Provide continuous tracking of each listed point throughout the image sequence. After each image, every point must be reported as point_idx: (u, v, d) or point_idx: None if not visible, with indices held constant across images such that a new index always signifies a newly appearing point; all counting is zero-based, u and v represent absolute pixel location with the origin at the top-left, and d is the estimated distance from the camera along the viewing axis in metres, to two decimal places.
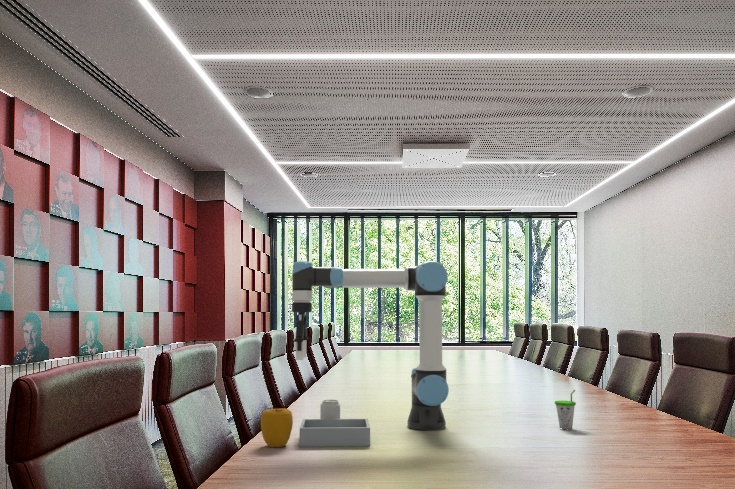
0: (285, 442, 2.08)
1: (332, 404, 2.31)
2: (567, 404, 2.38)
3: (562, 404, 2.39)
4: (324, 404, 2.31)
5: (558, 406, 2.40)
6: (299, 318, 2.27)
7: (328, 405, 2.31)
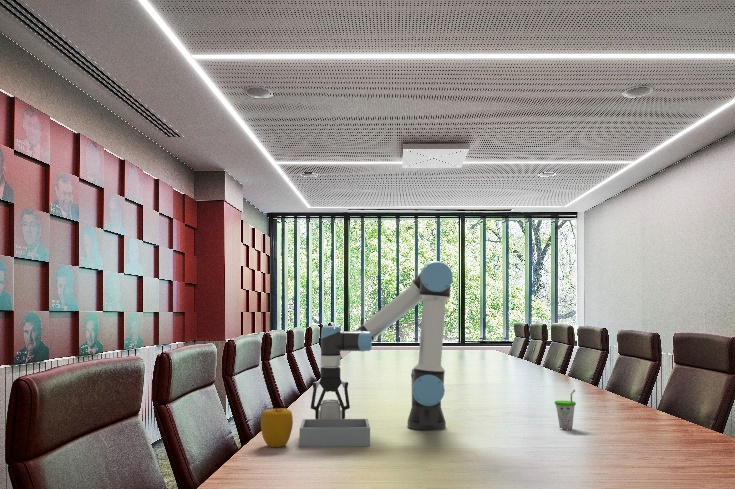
0: (285, 442, 2.08)
1: (332, 404, 2.31)
2: (567, 404, 2.38)
3: (562, 404, 2.39)
4: (324, 404, 2.31)
5: (558, 406, 2.40)
6: None
7: (328, 405, 2.31)
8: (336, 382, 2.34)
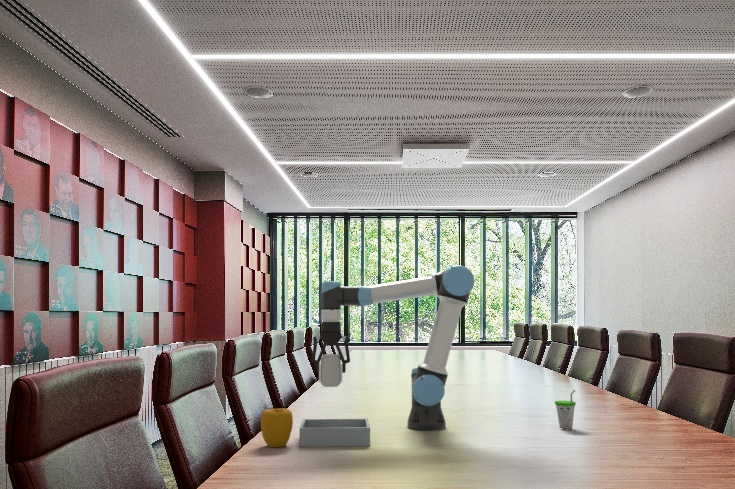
0: (285, 442, 2.08)
1: (332, 357, 2.33)
2: (567, 404, 2.38)
3: (562, 404, 2.39)
4: (325, 357, 2.33)
5: (558, 406, 2.40)
6: None
7: (329, 358, 2.32)
8: (336, 336, 2.36)
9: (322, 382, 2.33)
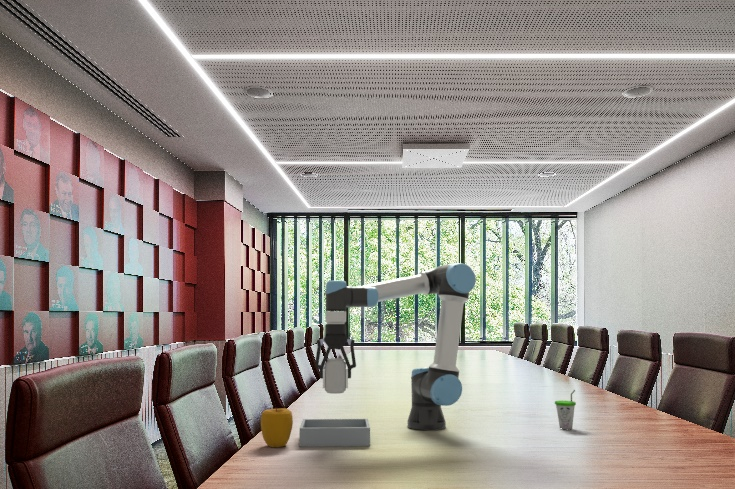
0: (285, 442, 2.08)
1: (337, 362, 2.18)
2: (567, 404, 2.38)
3: (562, 404, 2.39)
4: (329, 362, 2.18)
5: (558, 406, 2.40)
6: None
7: (333, 363, 2.18)
8: (342, 339, 2.21)
9: (326, 388, 2.18)
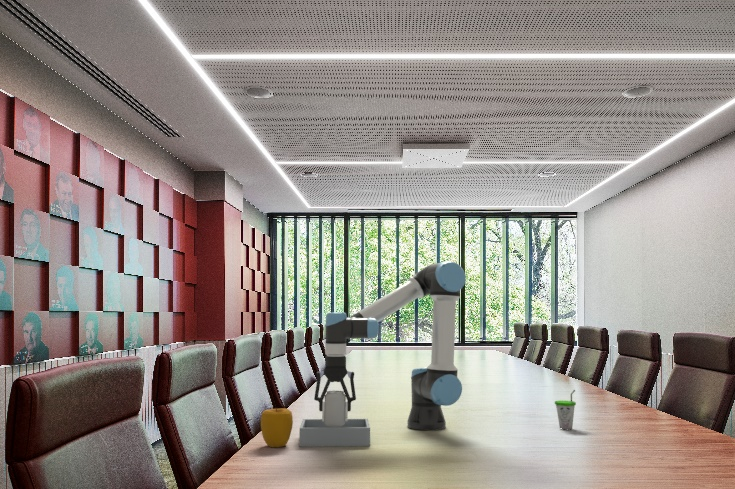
0: (285, 442, 2.08)
1: (337, 395, 2.17)
2: (567, 404, 2.38)
3: (562, 404, 2.39)
4: (329, 395, 2.17)
5: (558, 406, 2.40)
6: None
7: (333, 396, 2.16)
8: (341, 372, 2.20)
9: (326, 421, 2.17)
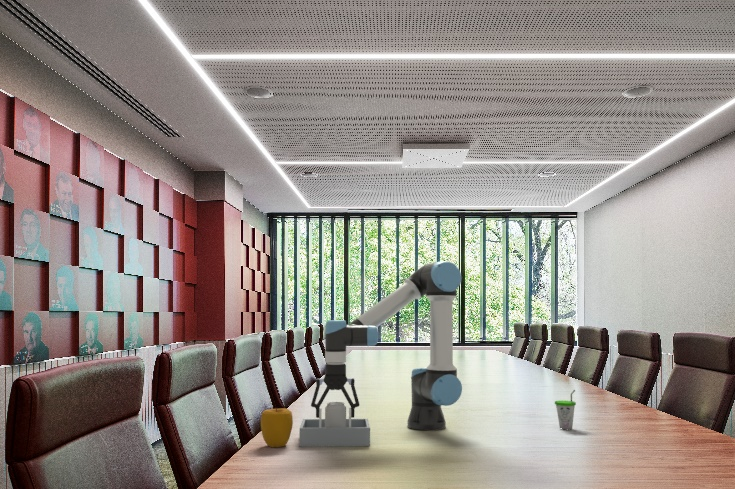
0: (285, 442, 2.08)
1: (338, 407, 2.16)
2: (567, 404, 2.38)
3: (562, 404, 2.39)
4: (329, 407, 2.17)
5: (558, 406, 2.40)
6: None
7: (333, 408, 2.16)
8: (341, 380, 2.19)
9: None
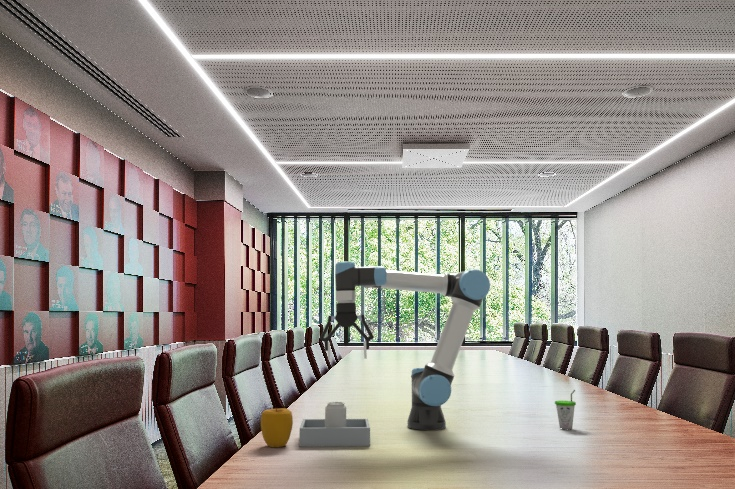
0: (285, 442, 2.08)
1: (338, 407, 2.16)
2: (567, 404, 2.38)
3: (562, 404, 2.39)
4: (329, 407, 2.17)
5: (558, 406, 2.40)
6: (328, 319, 2.32)
7: (333, 408, 2.16)
8: (352, 318, 2.32)
9: None
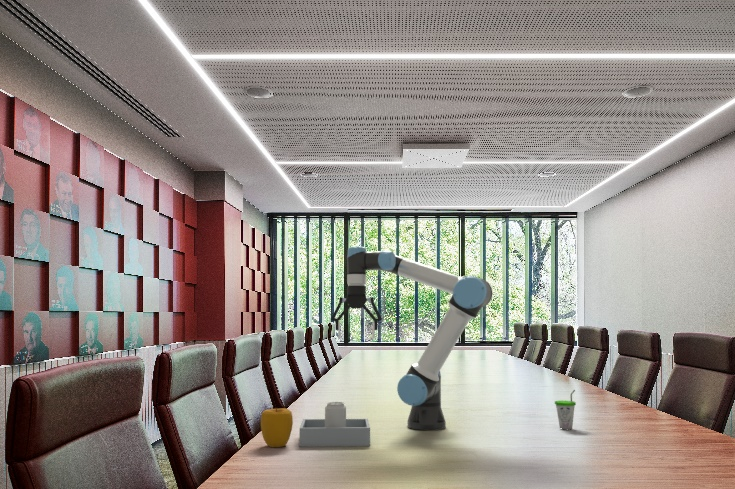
0: (285, 442, 2.08)
1: (337, 407, 2.16)
2: (567, 404, 2.38)
3: (562, 404, 2.39)
4: (329, 407, 2.17)
5: (558, 406, 2.40)
6: (339, 300, 2.47)
7: (333, 408, 2.16)
8: (362, 300, 2.46)
9: None
